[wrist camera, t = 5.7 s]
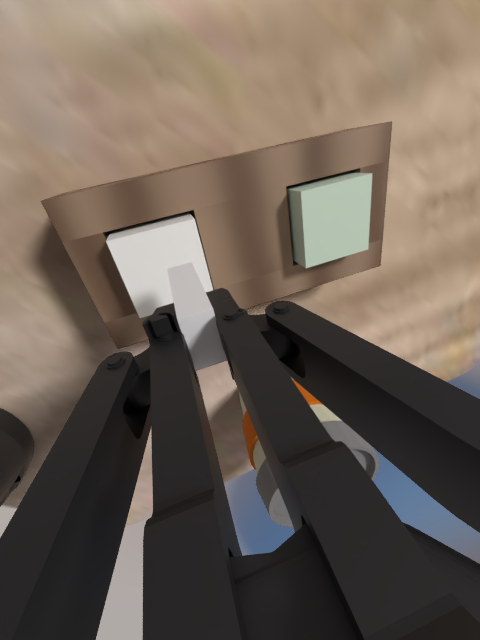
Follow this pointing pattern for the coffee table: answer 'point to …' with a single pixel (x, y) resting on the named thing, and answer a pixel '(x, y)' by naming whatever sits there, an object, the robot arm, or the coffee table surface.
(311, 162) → the key panel
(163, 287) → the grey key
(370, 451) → the reusable coffee cup
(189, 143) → the coffee table surface
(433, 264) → the coffee table surface
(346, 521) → the robot arm
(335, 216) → the sage key
